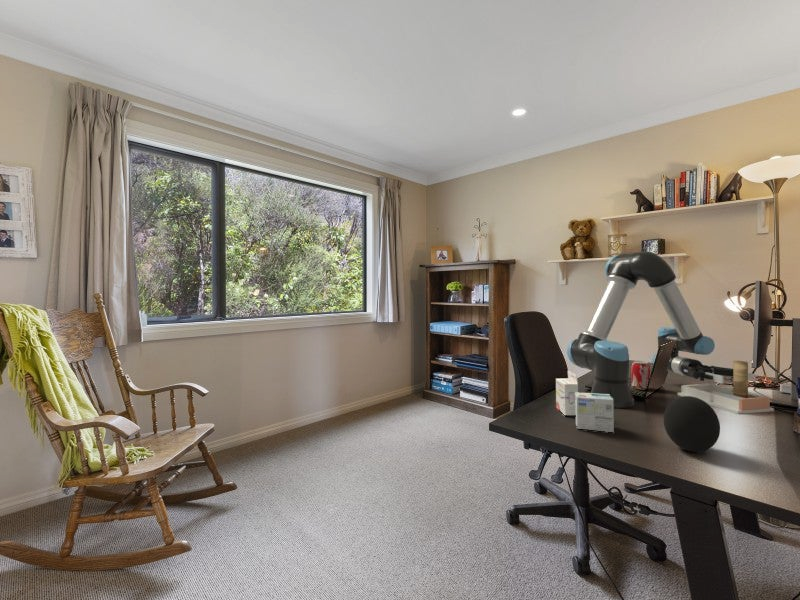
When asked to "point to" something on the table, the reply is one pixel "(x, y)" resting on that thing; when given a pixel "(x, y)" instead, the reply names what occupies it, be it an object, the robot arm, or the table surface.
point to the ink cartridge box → (566, 394)
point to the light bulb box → (594, 411)
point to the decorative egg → (691, 424)
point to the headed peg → (740, 378)
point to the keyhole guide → (727, 398)
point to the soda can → (640, 373)
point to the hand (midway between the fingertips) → (738, 378)
